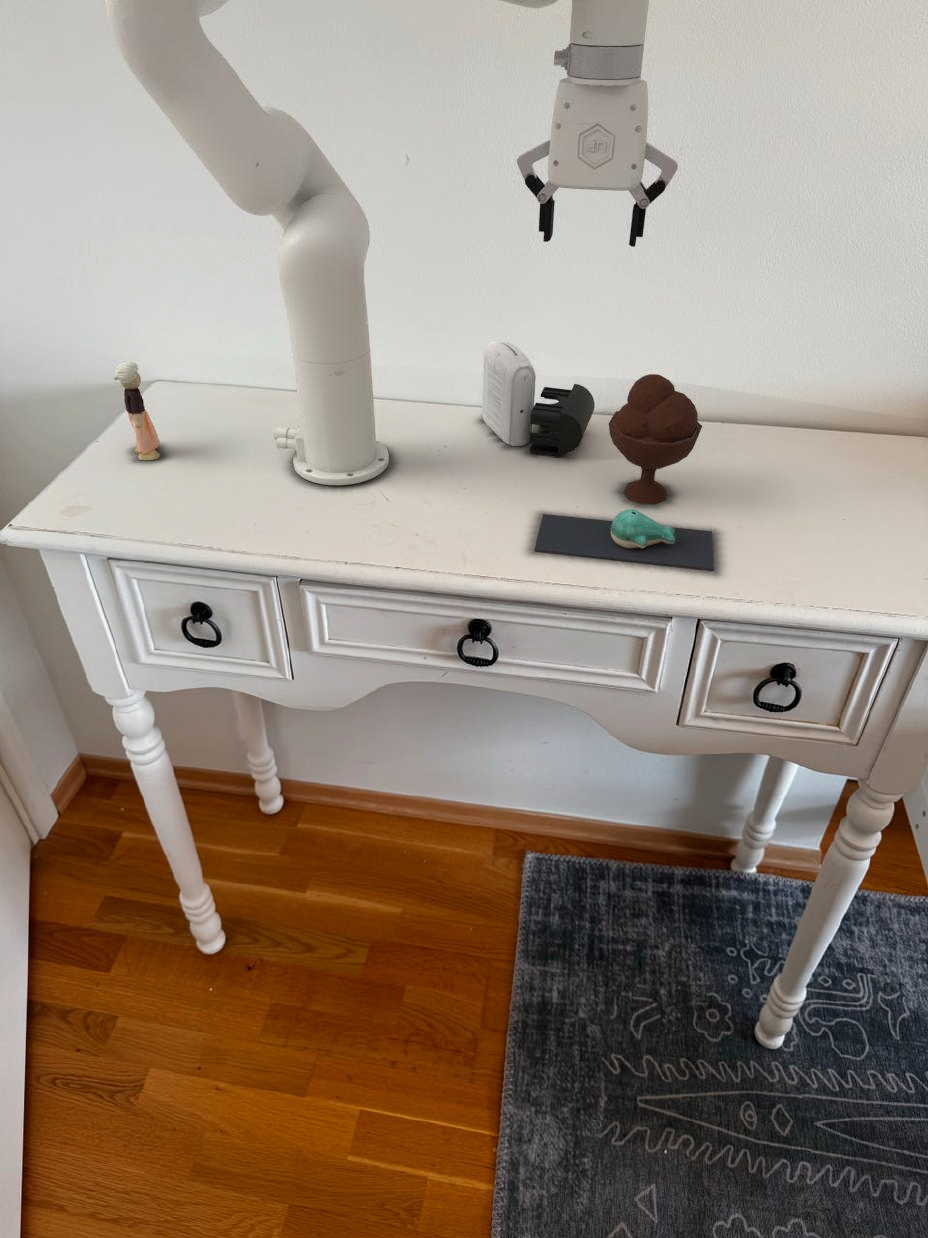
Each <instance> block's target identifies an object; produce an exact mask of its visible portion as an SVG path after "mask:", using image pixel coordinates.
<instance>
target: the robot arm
mask: <svg viewBox="0 0 928 1238" xmlns="http://www.w3.org/2000/svg"><path fill="white" fill-rule="evenodd" d="M229 1H230V0H104V3H105V11H106V16H107V20H108V25H109V28H110V31H111V34H112V37H113V40H114V42H115V44H116V46H117V48H118V51H119V52H120V55H121V57H122V58H123V60H124V63H126V65H127V67H128V68H129V70H130V71H131V73H132V74H133V75H134V77H135V79H136V80H137V81H138V83H139V84H140V85H141V86H142V88H143V89H144V91H146V93H147V95H149V96H150V98H151V99H152V100H153V101H154V102H155V104H156V105H157V107H159V109H160V110H161V112H163V114H164V115H165V117H166V118H167V119H168V120H169V122H170V123H171V124H172V126H173V127H174V128H175V130H176V131H177V133H179V135H180V136H181V138H182V139H183V140H184V141H185V143H186V145H188V147H189V148H190V149H191V150H192V152H193V153H194V154H195V155H196V157H197V158H198V159H199V161H200V162H201V163H202V165H203V166H204V167H205V168H206V170H207V171H208V172H209V174H210V175H211V176H212V177H213V179H214V180H215V181H216V183H217V184H218V185H219V186H220V188H221V189H222V191H223V192H224V193H225V194H226V196H227V197H228V198H229V199H230V201H231V202H233V204H235V205H236V206H237V207H238V208H239V209H240V210H242V211H244V212H246V213H248V214H250V215H252V216H257V217H261V216H263V217H264V216H272V217H273V219H274V220H275V221H276V222H277V224H279V226H280V227H281V229H282V230H283V233H282V234H281V238H280V240H279V245H278V251H277V271H278V272H277V273H278V279H279V284H280V288H281V292H282V297H283V301H284V307H285V313H286V318H287V324H288V325H287V326H288V332H289V340H290V348H291V354H292V361H293V369H294V380H295V387H296V395H297V404H298V412H299V421H300V425H299V426H298V427H297V428H291V427H289V426H278V425H277V426H275V428H274V431H273V438H274V440H275V442H276V448H278V449H284V450H288V449H291V450H293V451H294V452H295V453H294V455H293V458H292V462H293V468H294V469H293V470H294V471H295V472H296V474H297V475H299V477H301V478H303V479H304V480H306V481H309V482H312V483H314V484H319V485H324V486H325V485H326V486H350V485H354V484H355V485H356V484H360V483H363V482H367V481H369V480H372V479H374V478H376V477H378V476H379V475H381V474H382V473H383V472H384V471H385V470H386V469H387V468H388V466H389V463H390V457H389V456H390V453H389V451H388V448H386V446H385V445H384V444H383V443H381V442H380V441H377V435H376V419H375V403H374V401H375V400H374V390H373V389H374V388H373V387H374V386H373V373H372V372H373V371H372V356H371V341H370V328H369V317H368V315H369V314H368V306H367V297H366V286H365V283H366V282H365V263H366V259H367V254H368V250H369V246H370V239H371V233H370V225H369V222H368V218H367V215H366V213H365V211H364V209H363V207H362V205H361V204H360V203H359V202H358V200H357V198H356V197H355V196H354V194H353V192H352V191H351V189H350V188H349V187H348V186H347V184H346V183H345V182H344V180H343V179H342V177H341V176H340V174H339V173H338V171H336V169H335V168H334V167H333V165H332V163H331V162H330V161H329V160H328V158H327V157H326V155H325V154H324V152H323V151H322V150H321V148H320V147H319V145H318V144H317V142H316V141H315V140H314V139H313V137H312V135H310V133H309V132H308V131H307V130H306V129H305V127H304V126H303V125H302V124H301V123H300V122H299V121H298V120H297V119H296V118H295V117H294V116H292V115H291V114H289V113H287V112H285V111H283V110H282V109H279V108H276V107H272V106H261V104H260V103H259V102H258V100H257V99H256V98H255V97H254V95H253V94H252V93H251V92H250V91H249V89H248V88H247V87H246V85H245V84H244V82H243V81H242V79H241V78H240V77H239V75H238V74H237V72H236V70H235V69H234V68H233V67H232V65H231V64H230V63H229V61H228V60H227V58H226V57H224V56H223V54H222V53H221V52H220V51H219V50H218V49H217V48H216V47H215V45H214V44H213V43H212V42H211V40H209V38H208V37H207V34H206V33H205V31H204V28H203V27H202V24H201V21H200V18H201V17H206V16H208V15H210V14H212V13H214V12H216V11H217V10H219V9H221V8H222V7H223V6H224V5H226V4H227V3H228V2H229ZM498 1H500V2H504V3H506V4H507V3H508V4H512V5H515V6H520V7H523V8H528V9H544V8H546V7H550V6H552V5H554V4H556V3H557V2H559V0H498ZM649 4H650V0H571V11H570V12H571V13H570V26H569V27H570V29H569V43H568V44H567V46H566V48H562V50H554V53H553V55H554V56H553V66H555V67H557V66H558V67H559V66H560V67H561V68H564V70H565V71H566V75H567V77H564V78H562V79H559V82H558V86H557V90H556V95H555V98H554V99H555V100H554V105H553V113H552V121H551V129H550V136H549V137H550V138H549V139H548V140H546V141H544V142H542V143H540V144H539V145H537V146H534V147H533V148H531V149H529V150H527V151H526V152H524V153H521V154H520V155H519V156H518V157H517V159H516V164H517V166H518V169H519V171H520V174H521V177H522V178H523V180H524V184H525V185H526V187H527V189H528V190H529V191H530V192H531V193H532V195H533V196H534V197H535V198H536V200H537V203H539V216H538V232H539V233H543V243H549V242H550V241H551V239H552V237H553V234H554V220H555V219H554V218H555V204H556V200H555V199H554V197H553V195H554V194H555V193H556V192H557V190H558V189H559V188H560V189H572V190H591V191H592V190H593V191H615V192H616V191H618V192H622V191H623V192H624V191H628V192H629V194H630V195H631V197H632V198H633V200H634V201H635V203H633V206H632V212H631V213H632V214H631V221H630V223H631V224H630V233H629V240H628V246H630V247H633V248H635V247H636V243H637V238H643V237H644V231H645V223H646V222H645V221H646V213H647V209H648V207H649V205H651V204H652V203H653V202H654V201H655V200H656V199H657V198H658V197H660V195H662V194H663V193H664V192H665V191H666V188H667V187H668V185H669V184H670V183H671V181H672V180H673V177H674V176H675V174H676V173H677V171H678V168H679V167H678V166H679V163H678V162H677V161H676V160H675V159H674V158H672V157H671V156H669V155H667V154H666V153H664V152H663V151H661V150H660V149H658V148H657V147H656V146H653V145H652V144H650V143H649V142H647V138H648V122H649V121H648V120H649V92H648V90H649V89H648V82H647V81H646V80H644V79H641V78H642V68H643V59H644V50H645V40H646V32H647V23H648V13H649V6H650V5H649ZM546 157H548V161H547V178H548V180H547V181H546V182H545V183H544V182H543V180H542V179H541V178H540V177H539V176H538V175H537V174H536V172H535V171H536V170H535V168H534V163H536V162H538V161H540V160H542V159H544V158H546ZM645 161H648V162H650V163H651V164H652V165H654V166H655V167H657V168H659V169H660V174H659V175H658V176H657V178H656V180H655V181H654V182H652V183H651V184H650V185H649V186H648V187H646V186H645V184H644V183H643V181H642V178H643V175H644V169H645Z"/></svg>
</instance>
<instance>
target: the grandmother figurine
mask: <svg viewBox="0 0 928 1238" xmlns="http://www.w3.org/2000/svg"><path fill="white" fill-rule="evenodd" d="M138 371H139V366H138V364H137V363H135V362H134V361H123V362H121V363H119V364H118V366H117V367H116V368H115V370H114V372H113V376H112V378H113V380H114V381H119V382H120V384H121V386H122V387H123V388H124V390H123V395H124V399H123V400H124V401H123V402H124V405H125V410H126V412H127V416H128V419H129V422H130V425H131V427H132V428H133V430H134V434H135V443H136V447H135V450H134V452H135V453H136V454H137V455H138V456H137V457H138V458H137V459H138V460H139V461H155V460H158V459H159V458H160V453H159V452H158V451H157V448H158V447H160V445H161V441H160V438H159V436H158V433H157V430H156V429H155V425H154V424H153V422H152V421H153V420H152V419H151V417H150V415H149V413H148V411H147V410H146V408H145V407H146V406H145V402H144V398H143V396H142V394H141V390H140V389H139V387H140V385H141V383H142V377H141V375H140V374H139V372H138Z"/></svg>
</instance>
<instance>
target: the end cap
mask: <svg viewBox="0 0 928 1238" xmlns="http://www.w3.org/2000/svg"><path fill="white" fill-rule="evenodd" d="M540 398H543V399H546V400H554V401H558V402H555V403H545V402H544V403H543V402H534V407H533V409H532V411H531V420H530V424H532V425H533V426H538V427H539V430H538V431H537V432H536V431H535V432H534V431H532V432H530V440H529V442H528V444H529V445H530V444H531V445H530V447H529V453H530V454H531V455H538V456H545V457H550V458H551V457H553V458H563V457H565V456H567V455H568V454H570V453H572V452H575V450H577V449H578V447H580V444H581V443H582V440H583V437H584V436H585V433H586V431H587V428H588V426H589V424H590V421H591V418H592V416H593V414H594V412H595V399H594V397H593V395H592V392H591V391H589V390H588V388H587V387H585V386H583V385H582V384H579V383H574V384H573V386H572V388H571V389H569V388H567V389H566V388H559V387H557V388H556V387H549V386H544V387H543V389H542V391H541V393H540Z"/></svg>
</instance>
